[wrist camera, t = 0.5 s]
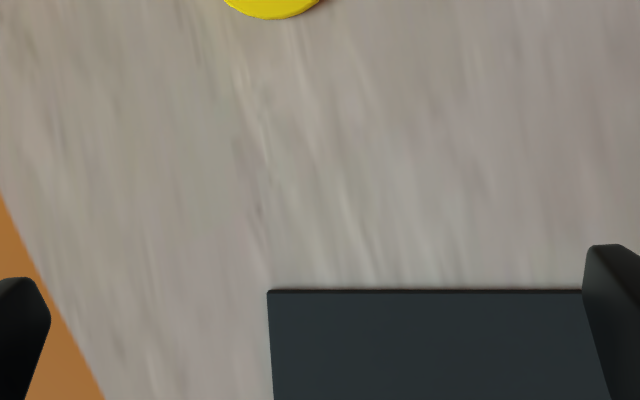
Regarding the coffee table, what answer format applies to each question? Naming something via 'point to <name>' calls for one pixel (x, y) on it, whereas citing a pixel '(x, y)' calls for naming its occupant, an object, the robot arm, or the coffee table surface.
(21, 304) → the robot arm
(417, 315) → the mat
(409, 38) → the coffee table surface
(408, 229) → the coffee table surface
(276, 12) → the candle
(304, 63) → the coffee table surface
